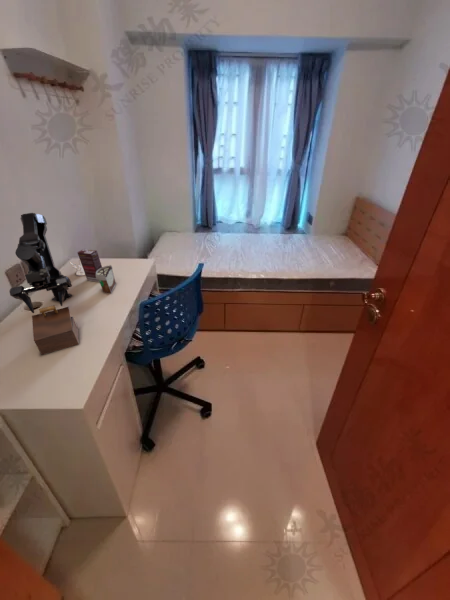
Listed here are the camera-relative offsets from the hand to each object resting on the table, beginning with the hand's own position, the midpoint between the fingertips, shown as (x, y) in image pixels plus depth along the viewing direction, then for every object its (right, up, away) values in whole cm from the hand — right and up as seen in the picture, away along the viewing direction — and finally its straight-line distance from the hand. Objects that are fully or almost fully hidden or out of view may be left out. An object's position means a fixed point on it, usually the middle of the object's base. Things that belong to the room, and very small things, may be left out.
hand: (47, 309), depth 102 cm
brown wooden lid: (+1, -5, +1) cm, 5 cm away
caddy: (+2, -12, +5) cm, 14 cm away
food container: (+6, +9, +37) cm, 39 cm away
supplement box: (-4, +14, +46) cm, 49 cm away
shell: (-14, +19, +54) cm, 59 cm away
